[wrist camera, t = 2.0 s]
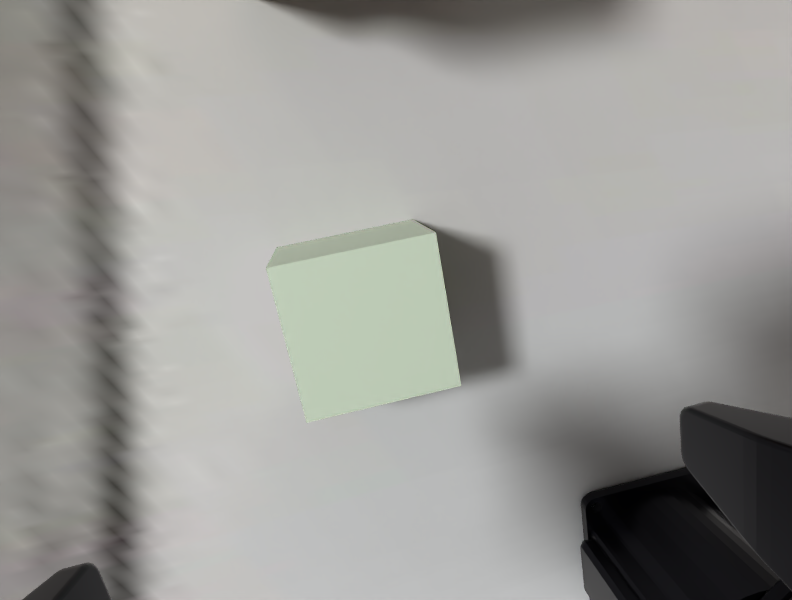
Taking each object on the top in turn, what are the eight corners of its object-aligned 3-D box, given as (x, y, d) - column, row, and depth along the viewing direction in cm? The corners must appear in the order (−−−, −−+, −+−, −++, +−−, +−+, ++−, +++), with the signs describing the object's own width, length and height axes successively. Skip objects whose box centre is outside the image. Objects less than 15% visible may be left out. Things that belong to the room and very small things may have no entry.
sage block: (412, 218, 19) (435, 232, 15) (434, 344, 20) (461, 385, 16) (276, 247, 18) (266, 267, 15) (309, 373, 20) (306, 422, 16)
